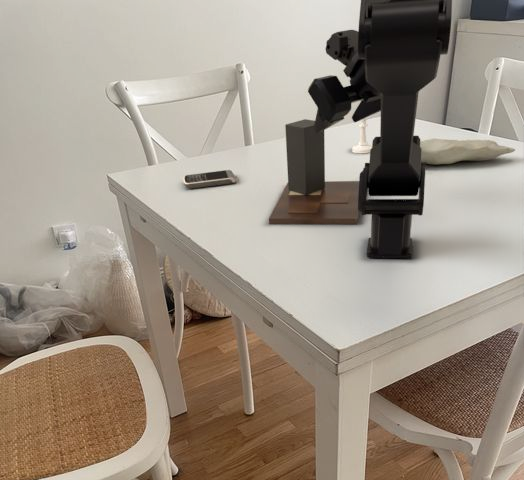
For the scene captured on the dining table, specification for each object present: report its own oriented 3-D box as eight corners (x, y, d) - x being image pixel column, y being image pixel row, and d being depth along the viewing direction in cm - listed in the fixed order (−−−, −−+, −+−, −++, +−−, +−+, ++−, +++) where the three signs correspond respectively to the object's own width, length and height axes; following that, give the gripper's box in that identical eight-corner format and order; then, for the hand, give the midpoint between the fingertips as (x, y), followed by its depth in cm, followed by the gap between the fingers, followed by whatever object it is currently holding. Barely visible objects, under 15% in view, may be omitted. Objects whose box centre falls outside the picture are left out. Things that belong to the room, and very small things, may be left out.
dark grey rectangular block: (325, 188, 103) (324, 122, 96) (306, 195, 101) (304, 127, 94) (307, 183, 106) (305, 119, 100) (288, 190, 104) (285, 124, 97)
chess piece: (350, 153, 126) (351, 107, 120) (353, 147, 130) (354, 102, 124) (371, 153, 124) (373, 106, 119) (374, 147, 128) (376, 102, 123)
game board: (356, 224, 90) (356, 218, 89) (269, 224, 93) (268, 218, 93) (363, 186, 106) (363, 180, 105) (288, 186, 109) (287, 181, 109)
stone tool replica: (390, 166, 110) (522, 163, 104) (391, 139, 108) (526, 134, 103) (390, 164, 123) (506, 161, 118) (391, 140, 122) (510, 136, 116)
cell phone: (183, 182, 117) (182, 175, 116) (233, 175, 118) (233, 169, 117) (184, 190, 112) (183, 183, 111) (237, 183, 113) (236, 177, 112)
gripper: (402, 2, 83) (348, 77, 97) (315, 15, 74) (269, 95, 88) (440, 62, 82) (380, 129, 96) (357, 82, 73) (304, 153, 87)
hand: (335, 125), depth 92 cm, fingers open, 9 cm apart
